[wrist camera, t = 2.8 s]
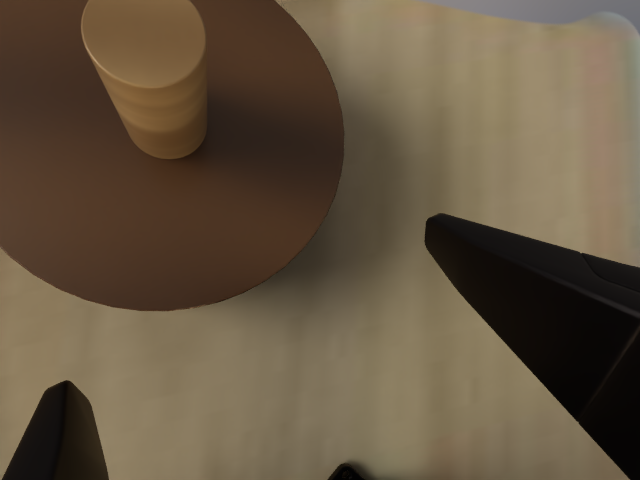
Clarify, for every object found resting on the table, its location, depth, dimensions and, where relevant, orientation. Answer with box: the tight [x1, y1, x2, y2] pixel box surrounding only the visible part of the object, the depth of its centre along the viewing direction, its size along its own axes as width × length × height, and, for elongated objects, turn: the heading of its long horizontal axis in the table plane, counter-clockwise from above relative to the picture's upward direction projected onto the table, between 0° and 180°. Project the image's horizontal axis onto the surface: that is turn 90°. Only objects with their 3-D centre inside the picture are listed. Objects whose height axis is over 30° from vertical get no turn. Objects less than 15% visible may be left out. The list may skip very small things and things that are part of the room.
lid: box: [0, 0, 344, 311], centre depth 14 cm, size 15×15×7 cm
